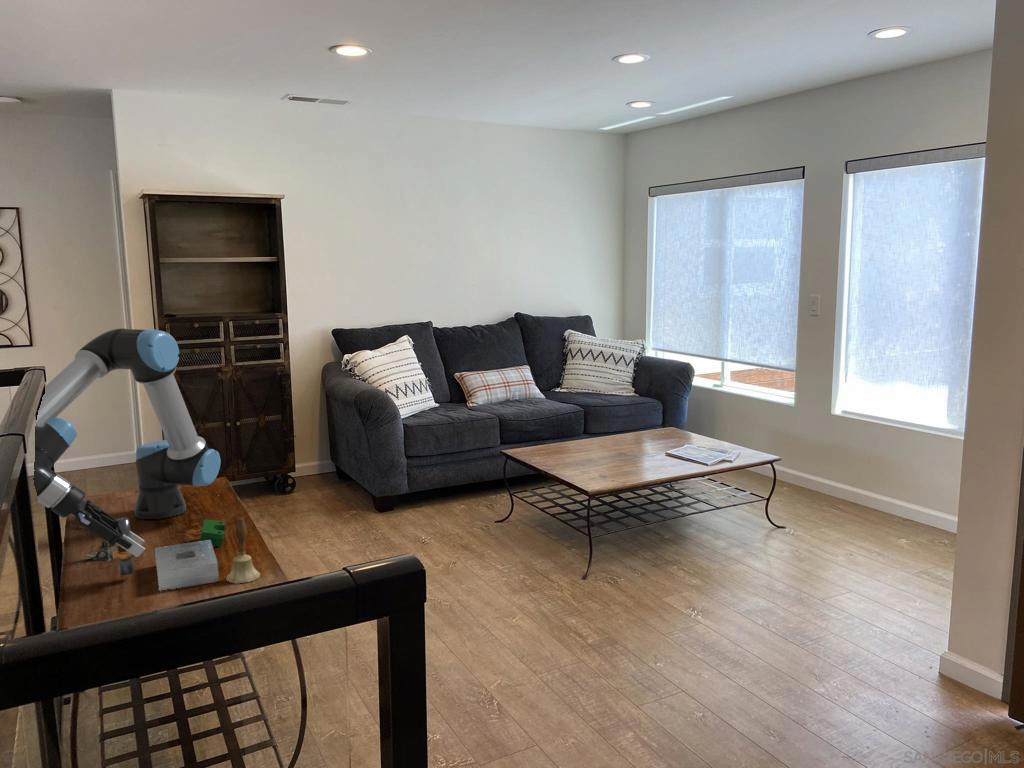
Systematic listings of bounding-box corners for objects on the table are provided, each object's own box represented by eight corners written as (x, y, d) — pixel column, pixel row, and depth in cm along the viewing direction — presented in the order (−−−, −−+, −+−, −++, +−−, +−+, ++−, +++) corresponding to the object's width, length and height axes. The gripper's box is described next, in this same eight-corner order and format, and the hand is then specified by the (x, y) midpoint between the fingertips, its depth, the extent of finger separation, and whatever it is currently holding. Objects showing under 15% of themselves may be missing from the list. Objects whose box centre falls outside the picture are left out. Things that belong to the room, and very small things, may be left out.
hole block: (156, 565, 209) (154, 547, 208) (211, 556, 215) (210, 539, 215) (159, 591, 193) (157, 572, 193) (218, 581, 200) (217, 562, 199)
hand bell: (231, 571, 206) (227, 513, 203) (263, 570, 207) (260, 512, 204) (222, 584, 198) (218, 524, 195) (255, 583, 198) (252, 523, 196)
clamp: (218, 562, 223) (223, 539, 219) (196, 560, 221) (201, 536, 217) (222, 533, 233) (228, 510, 228) (201, 530, 231) (206, 507, 226)
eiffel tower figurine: (137, 546, 224) (133, 502, 221) (139, 559, 215) (136, 512, 213) (77, 556, 217) (73, 510, 214) (78, 569, 208) (73, 521, 206)
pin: (114, 570, 201) (109, 517, 198) (138, 566, 203) (134, 514, 201) (114, 578, 196) (109, 524, 193) (138, 574, 198) (134, 521, 196)
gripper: (52, 497, 197) (129, 548, 208) (46, 520, 181) (130, 573, 192) (74, 474, 199) (150, 526, 209) (70, 495, 183) (152, 549, 193)
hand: (140, 548), depth 200 cm, fingers closed on pin, 5 cm apart
